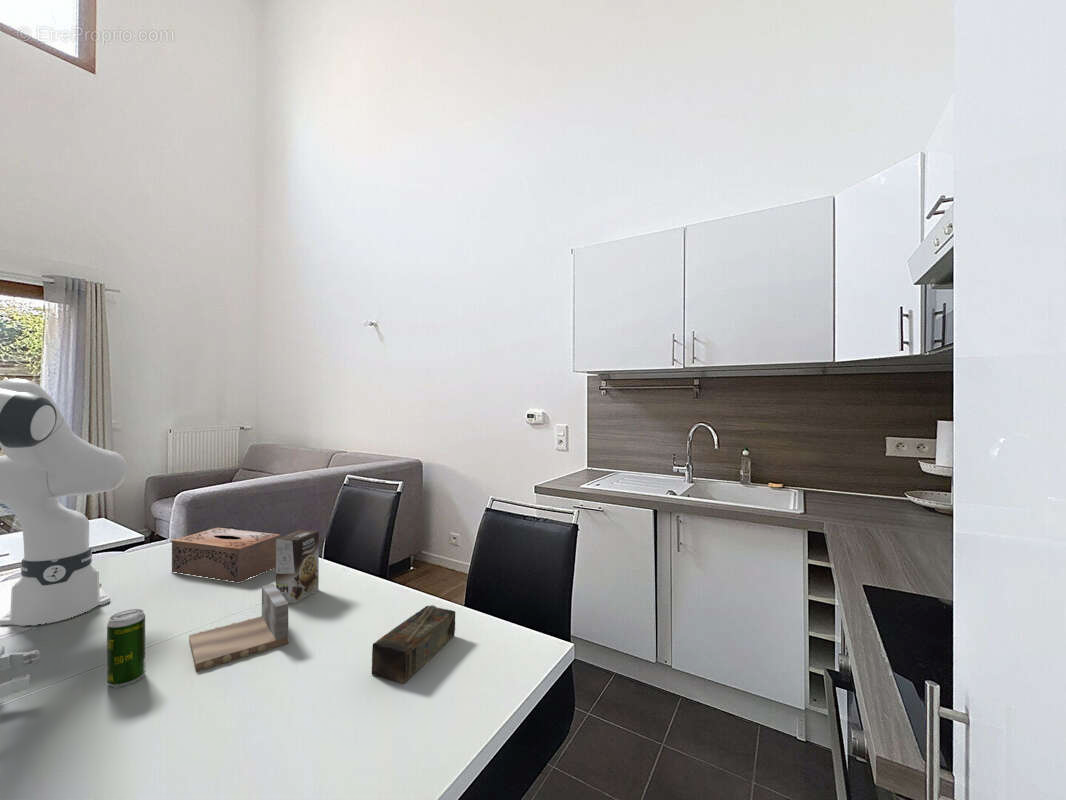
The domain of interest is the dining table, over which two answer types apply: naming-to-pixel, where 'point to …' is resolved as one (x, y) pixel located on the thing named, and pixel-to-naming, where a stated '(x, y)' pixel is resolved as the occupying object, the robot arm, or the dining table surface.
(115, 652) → the green soda can
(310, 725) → the dining table surface
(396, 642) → the beverage carton
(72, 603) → the robot arm
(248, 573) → the tissue box cover
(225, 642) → the roller pallet
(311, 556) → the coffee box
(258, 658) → the dining table surface
